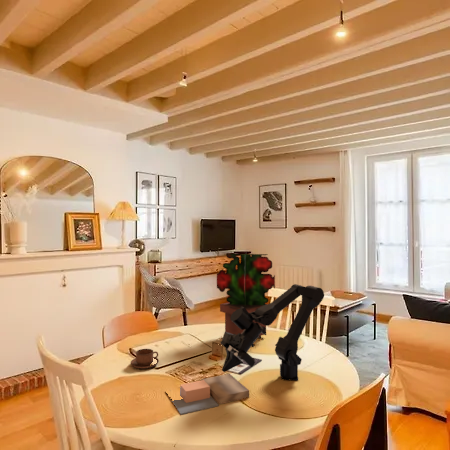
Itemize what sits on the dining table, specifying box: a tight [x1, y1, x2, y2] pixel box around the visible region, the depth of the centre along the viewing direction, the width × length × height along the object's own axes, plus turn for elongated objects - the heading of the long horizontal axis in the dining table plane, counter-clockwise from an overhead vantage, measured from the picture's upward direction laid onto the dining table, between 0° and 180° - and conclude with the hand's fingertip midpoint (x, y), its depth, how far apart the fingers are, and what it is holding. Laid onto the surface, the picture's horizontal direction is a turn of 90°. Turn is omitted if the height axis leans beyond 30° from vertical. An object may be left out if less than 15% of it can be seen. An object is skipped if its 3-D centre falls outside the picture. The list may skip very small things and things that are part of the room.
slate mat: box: [171, 396, 220, 415], centre depth 133 cm, size 14×18×1 cm
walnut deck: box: [200, 373, 250, 405], centre depth 139 cm, size 12×16×2 cm
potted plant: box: [216, 253, 276, 339], centre depth 202 cm, size 22×22×45 cm
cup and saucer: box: [130, 348, 159, 370], centre depth 164 cm, size 12×12×6 cm
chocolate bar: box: [227, 357, 263, 375], centre depth 164 cm, size 9×1×18 cm
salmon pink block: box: [179, 380, 210, 403], centre depth 134 cm, size 4×6×9 cm
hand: (222, 371), depth 138 cm, fingers closed
